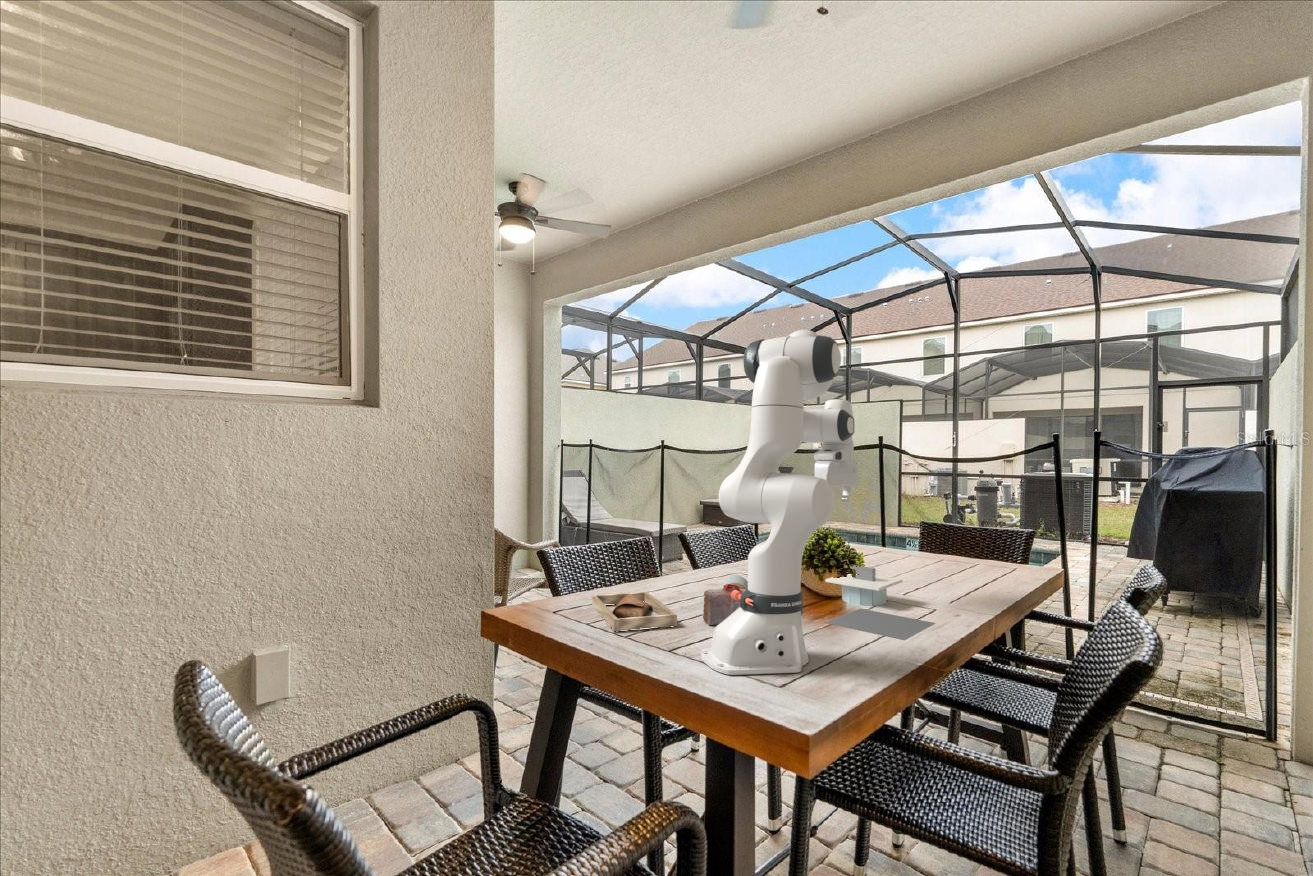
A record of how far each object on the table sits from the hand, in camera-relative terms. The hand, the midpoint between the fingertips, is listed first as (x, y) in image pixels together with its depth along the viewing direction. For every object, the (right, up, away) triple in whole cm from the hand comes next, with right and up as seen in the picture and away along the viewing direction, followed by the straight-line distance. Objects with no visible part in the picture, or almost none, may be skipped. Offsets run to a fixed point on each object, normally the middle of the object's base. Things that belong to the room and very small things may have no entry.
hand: (837, 501), depth 175 cm
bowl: (+8, -29, -1) cm, 30 cm away
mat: (+4, -29, -24) cm, 38 cm away
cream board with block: (+8, -23, -1) cm, 25 cm away
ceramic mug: (-29, -29, -4) cm, 41 cm away
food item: (-34, -29, -23) cm, 50 cm away
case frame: (-60, -28, -17) cm, 68 cm away
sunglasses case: (-60, -28, -17) cm, 68 cm away
